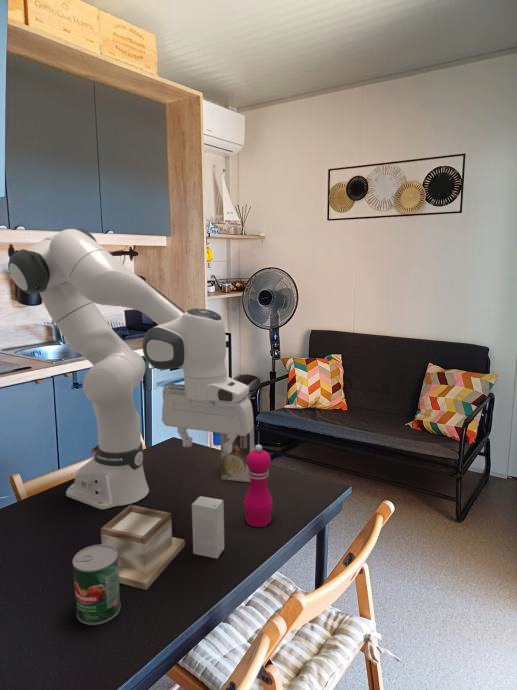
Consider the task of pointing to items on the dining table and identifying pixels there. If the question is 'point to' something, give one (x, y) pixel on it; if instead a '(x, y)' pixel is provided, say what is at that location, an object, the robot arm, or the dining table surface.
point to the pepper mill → (258, 489)
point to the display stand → (141, 544)
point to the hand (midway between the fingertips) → (207, 449)
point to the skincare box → (208, 527)
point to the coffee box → (237, 457)
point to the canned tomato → (96, 584)
